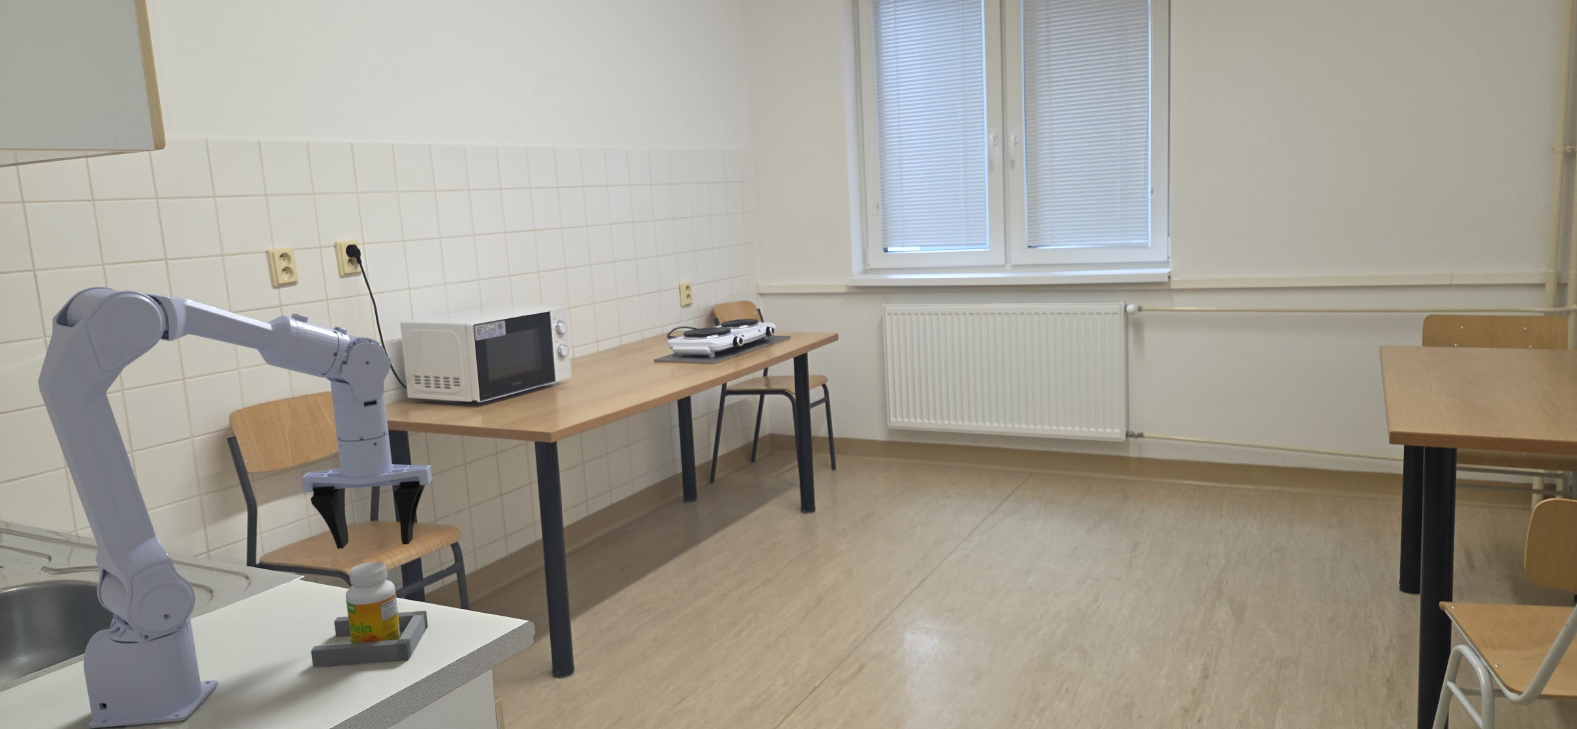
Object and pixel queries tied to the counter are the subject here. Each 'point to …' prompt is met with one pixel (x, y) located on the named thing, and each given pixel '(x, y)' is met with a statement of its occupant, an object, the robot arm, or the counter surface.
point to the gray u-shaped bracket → (372, 644)
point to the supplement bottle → (372, 604)
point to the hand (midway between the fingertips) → (375, 543)
